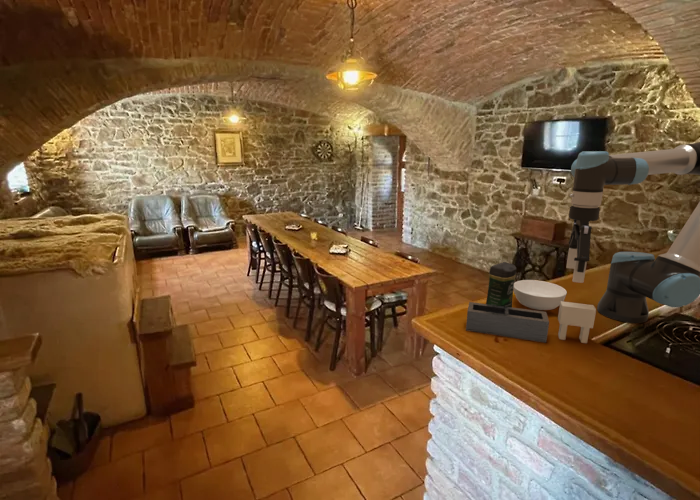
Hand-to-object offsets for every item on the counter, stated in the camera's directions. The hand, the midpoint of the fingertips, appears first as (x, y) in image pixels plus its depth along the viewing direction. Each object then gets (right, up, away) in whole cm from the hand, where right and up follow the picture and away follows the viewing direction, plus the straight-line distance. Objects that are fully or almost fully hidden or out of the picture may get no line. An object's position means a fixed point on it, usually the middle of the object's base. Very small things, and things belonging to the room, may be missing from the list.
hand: (574, 274), depth 116 cm
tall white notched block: (+2, -21, +4) cm, 21 cm away
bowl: (+3, -14, +29) cm, 33 cm away
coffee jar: (-14, -16, +24) cm, 32 cm away
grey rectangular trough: (-18, -19, +9) cm, 28 cm away
